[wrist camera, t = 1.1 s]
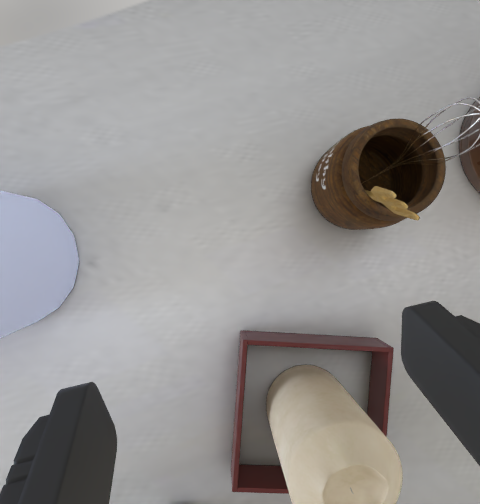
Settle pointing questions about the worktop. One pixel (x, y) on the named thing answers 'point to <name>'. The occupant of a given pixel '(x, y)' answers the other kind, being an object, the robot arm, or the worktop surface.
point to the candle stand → (475, 160)
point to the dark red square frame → (382, 353)
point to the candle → (329, 442)
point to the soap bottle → (33, 261)
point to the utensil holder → (381, 173)
